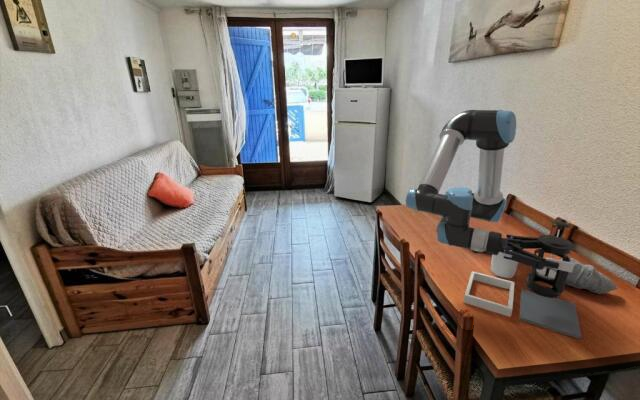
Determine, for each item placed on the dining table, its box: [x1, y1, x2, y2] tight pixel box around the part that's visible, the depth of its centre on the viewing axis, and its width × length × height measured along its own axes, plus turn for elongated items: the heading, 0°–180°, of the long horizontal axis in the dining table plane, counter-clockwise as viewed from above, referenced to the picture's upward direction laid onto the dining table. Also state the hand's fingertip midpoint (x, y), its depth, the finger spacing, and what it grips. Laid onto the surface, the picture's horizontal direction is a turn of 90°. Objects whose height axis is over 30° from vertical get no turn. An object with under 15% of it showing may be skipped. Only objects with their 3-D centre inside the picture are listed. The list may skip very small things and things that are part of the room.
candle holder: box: [490, 252, 520, 279], centre depth 119 cm, size 10×10×12 cm
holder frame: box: [463, 271, 515, 318], centre depth 107 cm, size 14×17×3 cm
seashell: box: [560, 257, 618, 295], centre depth 110 cm, size 16×15×10 cm
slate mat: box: [519, 289, 582, 340], centre depth 98 cm, size 15×17×1 cm
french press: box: [524, 220, 575, 299], centre depth 92 cm, size 12×9×23 cm
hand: (570, 259), depth 90 cm, fingers closed on french press, 10 cm apart
